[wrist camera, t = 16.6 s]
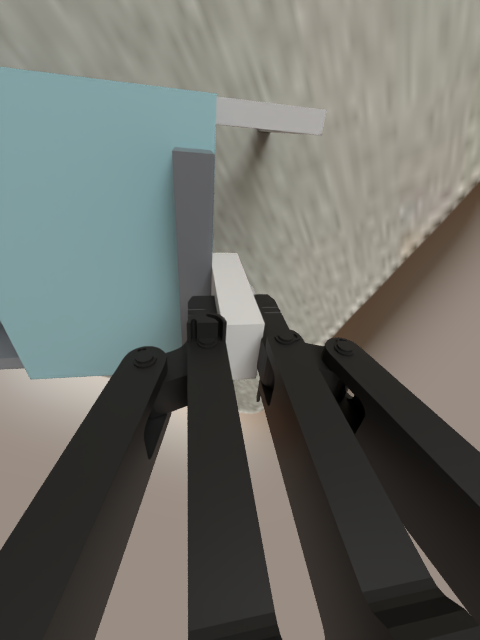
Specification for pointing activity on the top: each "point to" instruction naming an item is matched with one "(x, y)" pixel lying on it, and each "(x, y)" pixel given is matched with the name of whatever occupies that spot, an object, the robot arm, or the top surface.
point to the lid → (101, 218)
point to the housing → (229, 114)
